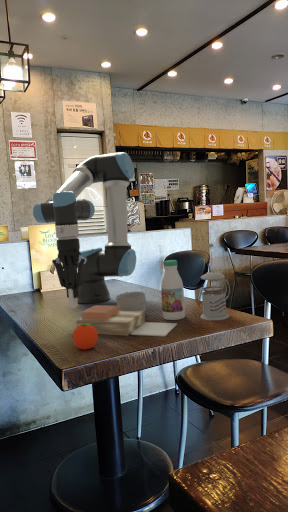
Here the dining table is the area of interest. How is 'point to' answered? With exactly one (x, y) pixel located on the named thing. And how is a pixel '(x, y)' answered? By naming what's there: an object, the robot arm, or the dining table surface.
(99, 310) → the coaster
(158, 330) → the mat
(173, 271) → the milk bottle
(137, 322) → the block
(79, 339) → the clementine
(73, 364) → the dining table surface
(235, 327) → the dining table surface
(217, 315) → the french press
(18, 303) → the dining table surface
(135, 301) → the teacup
